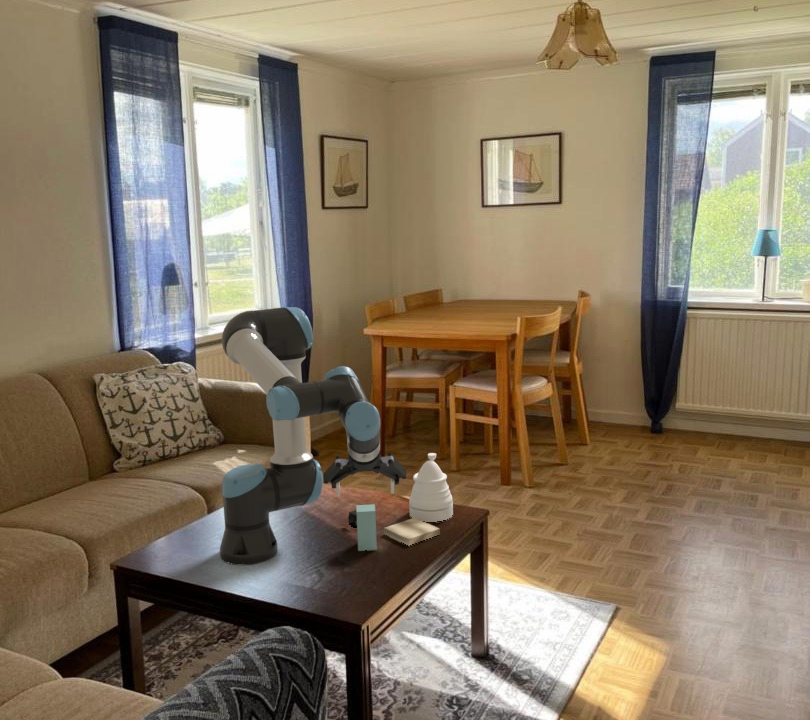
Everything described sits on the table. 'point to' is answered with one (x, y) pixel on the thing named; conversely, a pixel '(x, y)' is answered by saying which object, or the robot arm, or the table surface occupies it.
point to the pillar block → (366, 527)
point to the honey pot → (430, 494)
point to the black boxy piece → (353, 518)
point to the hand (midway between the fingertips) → (365, 490)
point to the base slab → (411, 531)
